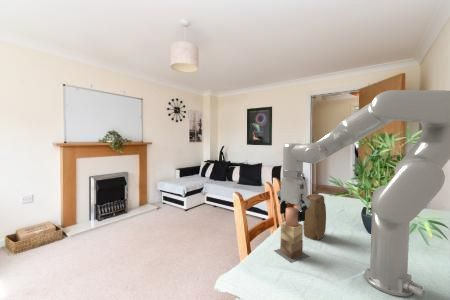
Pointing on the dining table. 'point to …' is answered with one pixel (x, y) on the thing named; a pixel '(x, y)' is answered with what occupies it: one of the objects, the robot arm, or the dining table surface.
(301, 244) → the block
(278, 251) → the mat
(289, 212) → the peach egg-shaped pebble
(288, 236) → the tower top
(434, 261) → the dining table surface
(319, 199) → the block
